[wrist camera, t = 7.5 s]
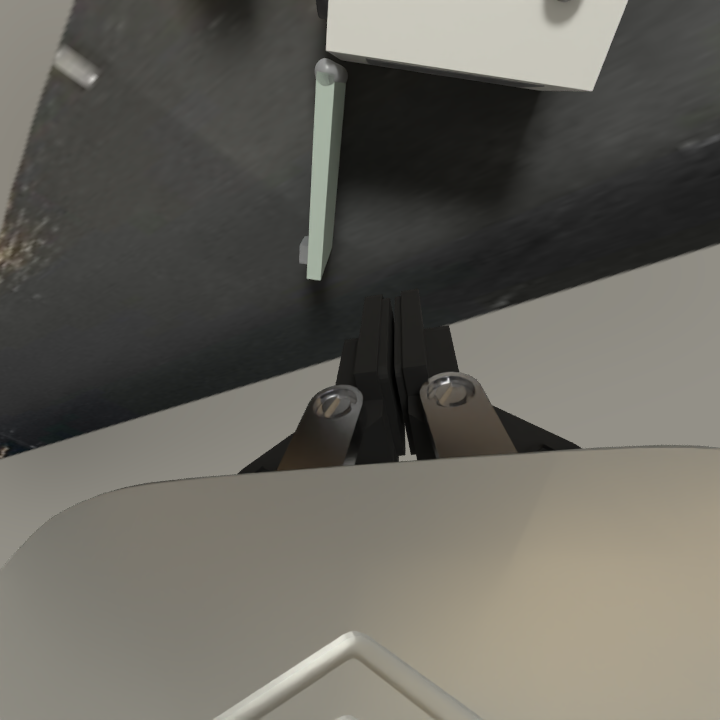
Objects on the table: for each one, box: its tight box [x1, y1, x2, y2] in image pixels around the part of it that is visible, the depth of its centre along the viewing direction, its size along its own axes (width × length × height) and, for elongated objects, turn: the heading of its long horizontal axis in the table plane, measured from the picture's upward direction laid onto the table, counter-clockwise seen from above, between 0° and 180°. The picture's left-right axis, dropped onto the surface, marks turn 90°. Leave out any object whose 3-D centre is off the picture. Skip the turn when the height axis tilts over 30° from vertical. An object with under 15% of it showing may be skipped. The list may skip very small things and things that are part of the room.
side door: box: [299, 58, 348, 280], centre depth 27 cm, size 13×2×7 cm, turn 173°
